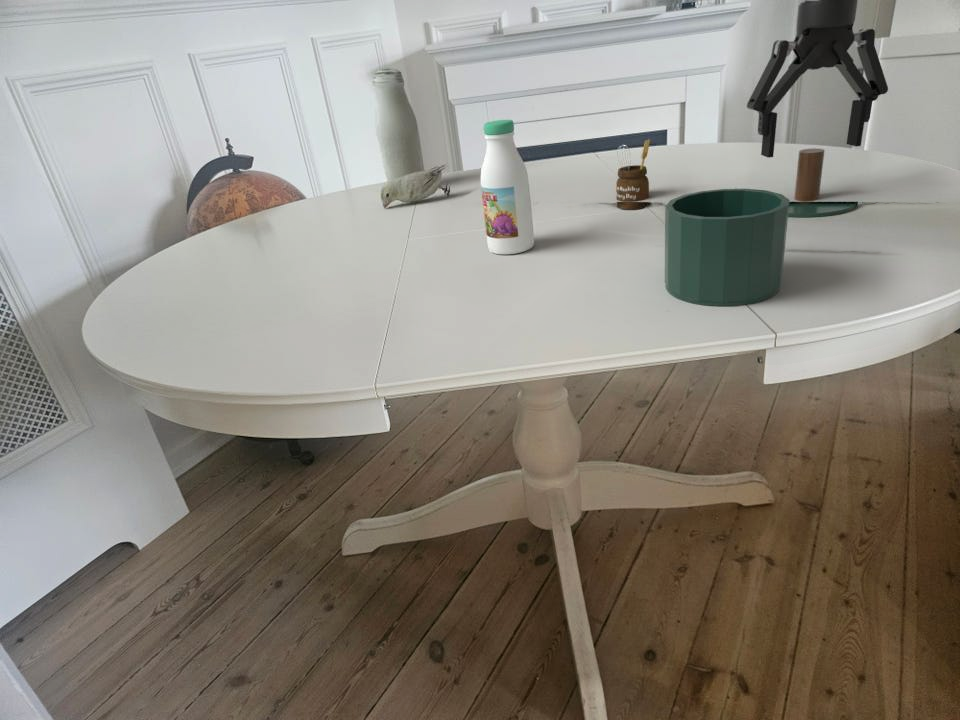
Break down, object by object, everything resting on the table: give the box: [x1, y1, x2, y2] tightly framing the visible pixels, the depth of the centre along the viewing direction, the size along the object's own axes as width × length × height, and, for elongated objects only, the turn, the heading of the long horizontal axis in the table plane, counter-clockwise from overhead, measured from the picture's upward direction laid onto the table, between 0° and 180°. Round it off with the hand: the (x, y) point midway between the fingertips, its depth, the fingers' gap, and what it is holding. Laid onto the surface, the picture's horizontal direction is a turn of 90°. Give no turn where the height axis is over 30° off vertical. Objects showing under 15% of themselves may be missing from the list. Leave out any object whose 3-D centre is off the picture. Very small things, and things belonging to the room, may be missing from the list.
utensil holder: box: [615, 138, 651, 211], centre depth 116 cm, size 6×6×12 cm
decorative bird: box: [380, 162, 452, 209], centre depth 143 cm, size 5×16×7 cm, turn 105°
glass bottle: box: [372, 67, 425, 181], centre depth 153 cm, size 10×10×28 cm
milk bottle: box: [480, 119, 535, 255], centre depth 100 cm, size 8×8×20 cm
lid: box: [788, 148, 859, 218], centre depth 102 cm, size 15×15×9 cm
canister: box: [664, 188, 791, 307], centre depth 77 cm, size 14×14×10 cm
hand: (810, 150), depth 100 cm, fingers open, 13 cm apart
